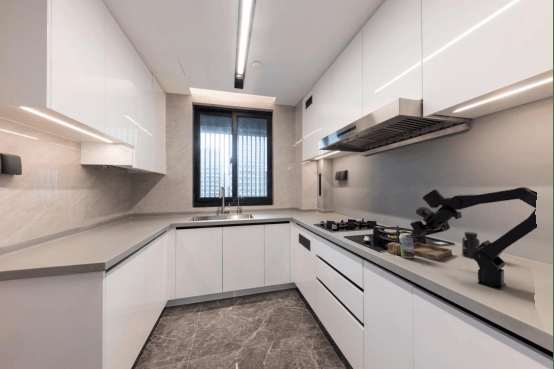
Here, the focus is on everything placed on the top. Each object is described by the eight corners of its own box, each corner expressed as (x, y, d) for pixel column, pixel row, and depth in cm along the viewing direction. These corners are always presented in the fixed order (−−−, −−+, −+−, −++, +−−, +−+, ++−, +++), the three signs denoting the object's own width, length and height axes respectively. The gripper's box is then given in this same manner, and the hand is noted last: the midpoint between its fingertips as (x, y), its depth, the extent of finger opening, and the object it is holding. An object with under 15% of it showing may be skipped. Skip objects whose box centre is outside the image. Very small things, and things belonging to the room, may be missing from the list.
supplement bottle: (460, 256, 119) (460, 232, 118) (464, 253, 123) (464, 230, 122) (477, 259, 113) (477, 235, 113) (481, 256, 117) (481, 232, 117)
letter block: (402, 253, 125) (402, 244, 125) (397, 255, 123) (396, 246, 122) (393, 251, 130) (393, 242, 129) (387, 253, 127) (387, 243, 127)
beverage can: (407, 260, 115) (407, 236, 115) (396, 255, 123) (396, 232, 122) (418, 258, 117) (418, 234, 117) (406, 254, 124) (406, 231, 124)
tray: (451, 254, 121) (451, 249, 121) (437, 261, 113) (437, 256, 113) (417, 246, 136) (417, 242, 135) (402, 252, 127) (402, 247, 127)
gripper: (443, 200, 111) (421, 219, 121) (413, 203, 104) (393, 223, 115) (461, 220, 104) (436, 238, 114) (431, 224, 97) (407, 243, 108)
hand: (418, 235), depth 113 cm, fingers open, 9 cm apart
